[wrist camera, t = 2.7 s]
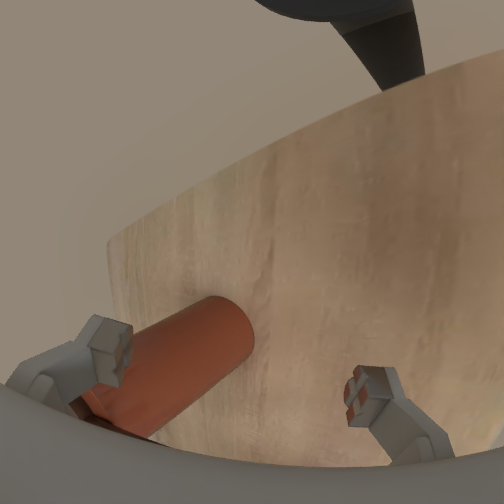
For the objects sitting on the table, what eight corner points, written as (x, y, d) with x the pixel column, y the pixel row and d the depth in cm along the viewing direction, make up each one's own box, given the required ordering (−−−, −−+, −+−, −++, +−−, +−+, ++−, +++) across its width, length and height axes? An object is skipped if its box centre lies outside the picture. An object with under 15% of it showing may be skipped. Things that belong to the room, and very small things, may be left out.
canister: (185, 299, 50) (51, 363, 30) (240, 291, 44) (88, 375, 24) (207, 362, 51) (91, 441, 31) (263, 363, 44) (139, 469, 25)
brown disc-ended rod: (190, 429, 17) (170, 445, 16) (220, 487, 18) (204, 503, 16) (65, 386, 29) (53, 393, 28) (86, 427, 30) (75, 434, 28)
